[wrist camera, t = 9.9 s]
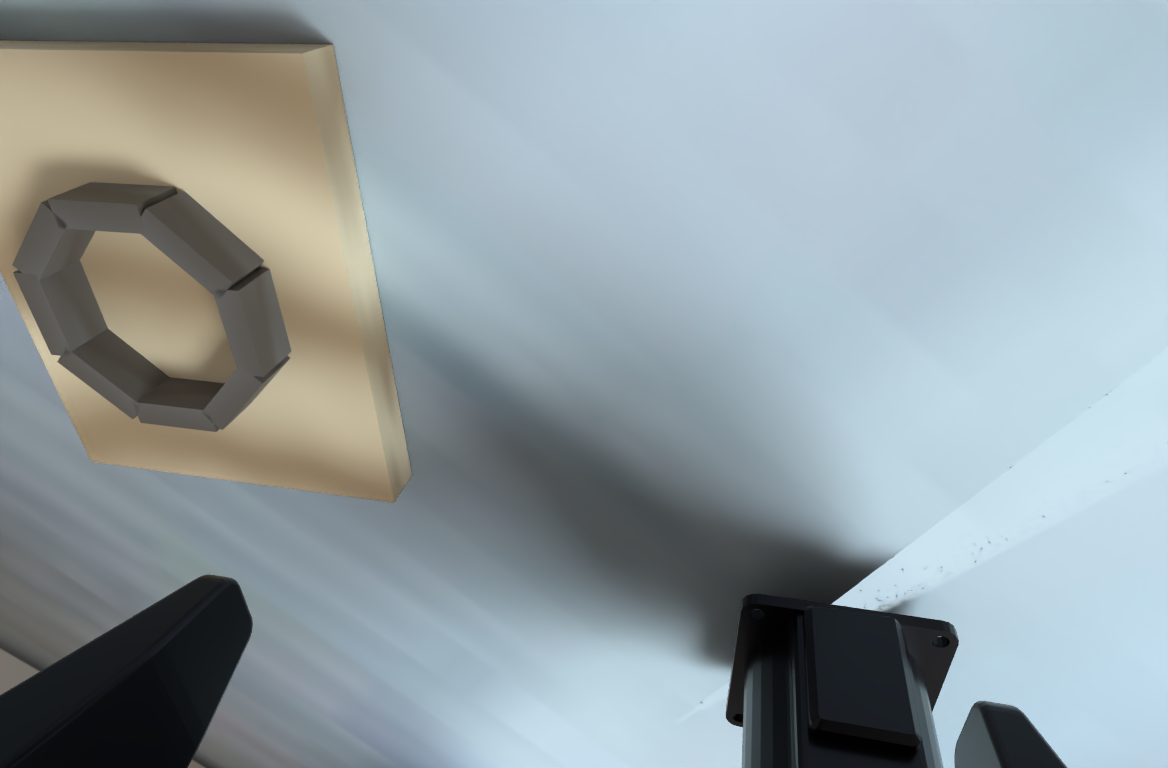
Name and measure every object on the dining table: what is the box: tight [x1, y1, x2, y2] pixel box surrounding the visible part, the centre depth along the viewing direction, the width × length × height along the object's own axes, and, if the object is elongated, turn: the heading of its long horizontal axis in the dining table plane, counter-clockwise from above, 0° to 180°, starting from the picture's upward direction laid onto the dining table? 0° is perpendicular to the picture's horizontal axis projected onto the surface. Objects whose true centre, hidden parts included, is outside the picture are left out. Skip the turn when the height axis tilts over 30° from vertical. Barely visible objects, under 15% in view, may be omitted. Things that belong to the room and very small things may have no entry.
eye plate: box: [0, 40, 412, 503], centre depth 22 cm, size 14×12×3 cm
